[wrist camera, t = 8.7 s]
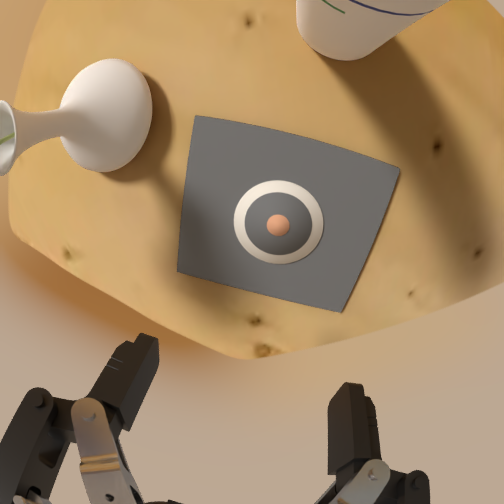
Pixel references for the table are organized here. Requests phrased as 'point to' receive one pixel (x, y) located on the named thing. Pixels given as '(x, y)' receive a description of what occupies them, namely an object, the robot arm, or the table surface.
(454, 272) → the table surface
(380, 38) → the cylindrical container
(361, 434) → the robot arm
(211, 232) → the pad
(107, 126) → the flower in vase
